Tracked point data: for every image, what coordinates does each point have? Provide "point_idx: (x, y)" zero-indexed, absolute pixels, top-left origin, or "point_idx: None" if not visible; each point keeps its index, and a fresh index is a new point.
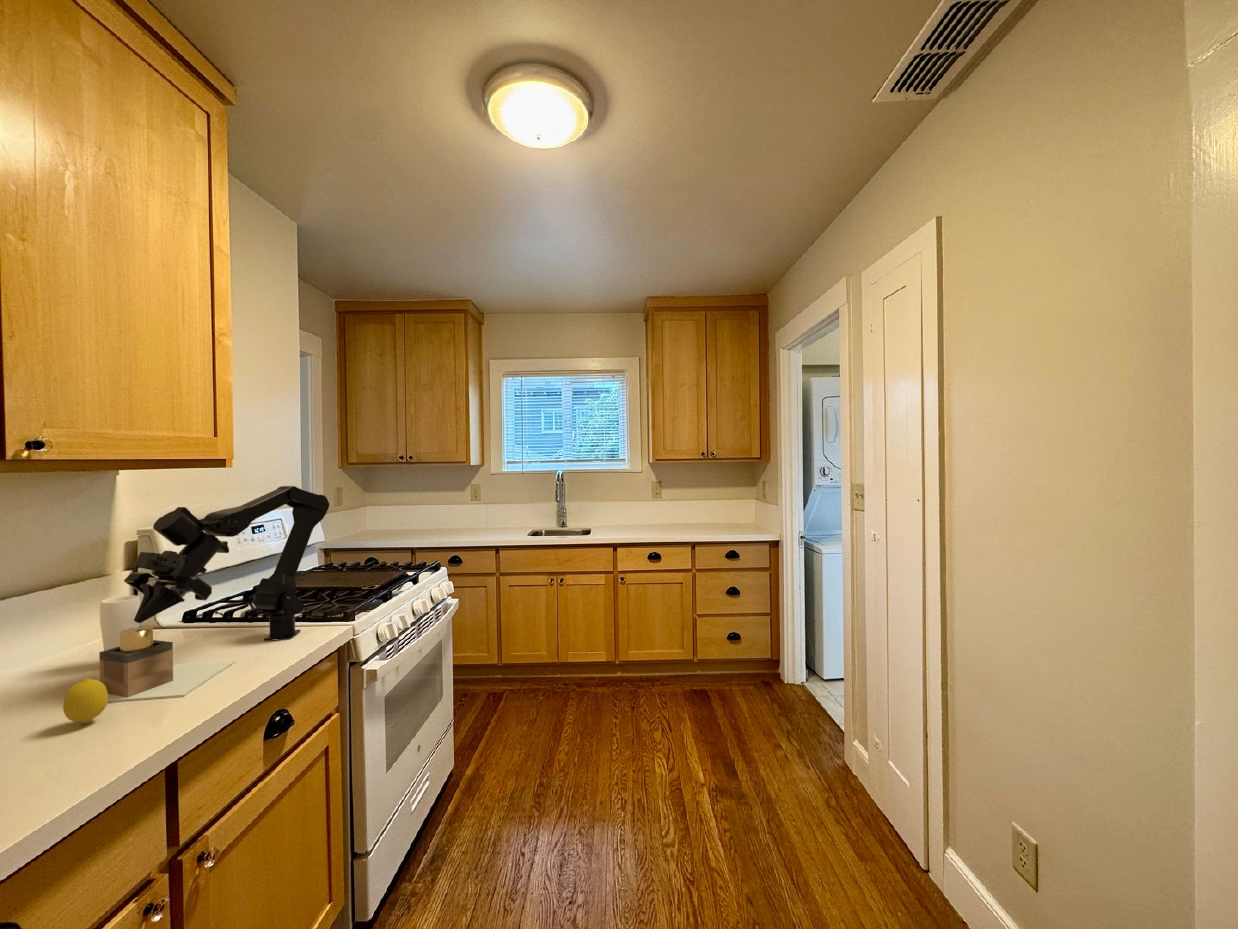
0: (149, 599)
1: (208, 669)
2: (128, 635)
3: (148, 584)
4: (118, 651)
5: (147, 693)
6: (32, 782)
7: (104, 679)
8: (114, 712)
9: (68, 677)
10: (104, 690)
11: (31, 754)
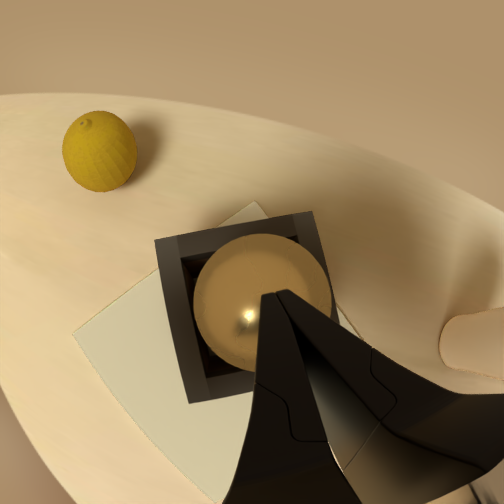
0: (361, 415)
1: (206, 451)
2: (216, 251)
3: (496, 462)
4: None
5: (159, 300)
6: (12, 107)
7: None
8: (123, 222)
9: (453, 256)
10: (68, 168)
11: (81, 109)
